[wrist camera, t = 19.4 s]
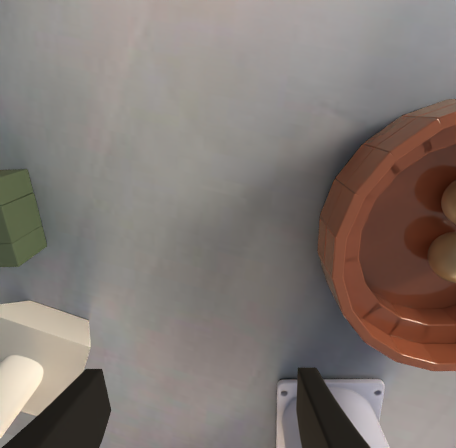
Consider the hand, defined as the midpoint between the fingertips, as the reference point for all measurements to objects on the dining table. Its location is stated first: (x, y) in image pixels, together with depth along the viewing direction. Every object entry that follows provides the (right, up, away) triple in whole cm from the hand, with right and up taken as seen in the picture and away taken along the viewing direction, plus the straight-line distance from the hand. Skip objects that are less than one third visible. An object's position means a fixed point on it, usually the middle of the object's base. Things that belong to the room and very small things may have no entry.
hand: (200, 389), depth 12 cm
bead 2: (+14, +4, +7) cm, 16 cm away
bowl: (+14, +6, +8) cm, 18 cm away
